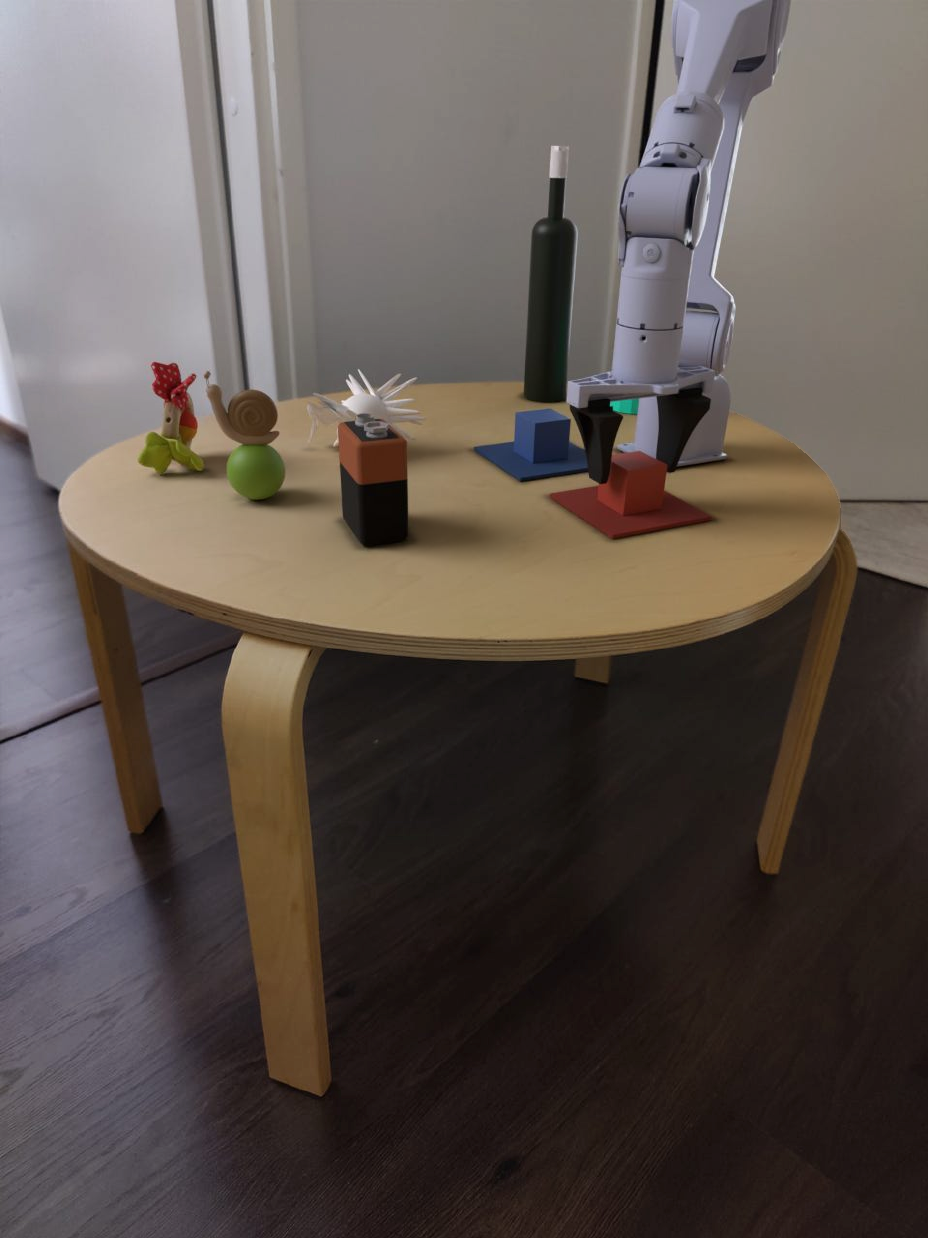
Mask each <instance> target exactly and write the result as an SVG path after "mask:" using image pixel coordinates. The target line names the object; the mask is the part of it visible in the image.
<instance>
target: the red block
mask: <svg viewBox="0 0 928 1238" xmlns="http://www.w3.org/2000/svg"><path fill="white" fill-rule="evenodd" d="M667 466H668V465H667V464H665V463H663V462H661V461H659V460H657V459H655V458H653V457H651V456H649V455H647V454H645V453H643V452H641V451H635V452H628V453H625V452H621V453H615V454H612V458H611V467H610V474H609V478H608V481H607V483H606V484H599V483H598V486H599V488H598V498H597V500H598V501H600V502H601V503H603V504H605V505H606V506H608V507H609V508H611V509H613V510H614V511H616V512H618V513H619V514H621V515H622V516H625V515H631V514H637V513H642V512H648V511H653V510H659V509H662V502H663V495H664V491H665V488H666V481H667V480H666V479H667V473H668V472H667Z"/></svg>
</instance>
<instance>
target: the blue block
mask: <svg viewBox="0 0 928 1238" xmlns="http://www.w3.org/2000/svg"><path fill="white" fill-rule="evenodd" d="M514 414H515V416H514V433H513V435H514V437H513V442H514V452H515V453H517V454H519V455H520V456H522V457H523V458H525V459H527V460H528V461H530V462H531V463H539V462H546V461H553V460H560V459H567V458H568V451H569V442H570V437H571V435H570V434H571V424H572V423H571V422H572V418H570V417H568V416H567V415H564V414H562V413H561V412H558V411H556V410H555V409H553V408H543V409H533V410H526V411H516V412H515V413H514Z"/></svg>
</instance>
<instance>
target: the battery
mask: <svg viewBox="0 0 928 1238" xmlns="http://www.w3.org/2000/svg"><path fill="white" fill-rule="evenodd" d="M337 428H338V436H337V438H338V440H339V445H338V456H339V474H340V475H339V476H340V490H341V492H340V493H341V508H342V519H343V520H344V522H345V523H346V525H347V526H348V528H349V529H350V530H351V531H352V533H353V534H354V536H355V537H356V539H357V540H358V542H359V543H360V545H362V546H364V547H366V546H373V545H374V546H375V545H381V544H382V545H383V544H388V543H395V542H402V541H406V540H408V538H409V488H408V486H409V485H408V483H409V480H408V479H409V477H408V475H409V473H408V442H407V439H406V438H405V437H402V436H401V435H400V434H399V433H398V432H397V431H396V430H395V429H394V428H392V427H391V426H390V425H389V424H388V423H387V422H386V421H385V420H383V419H374V415H373V414H370V413H361V414H357V415H356V421H349V422H341V423H340V422H339V423H338V425H337Z"/></svg>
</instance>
